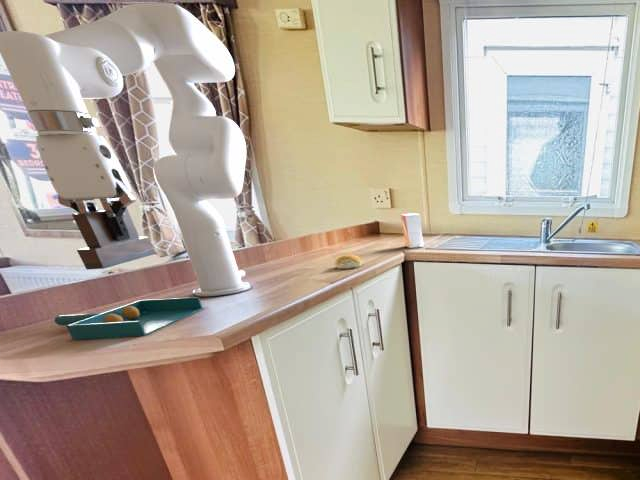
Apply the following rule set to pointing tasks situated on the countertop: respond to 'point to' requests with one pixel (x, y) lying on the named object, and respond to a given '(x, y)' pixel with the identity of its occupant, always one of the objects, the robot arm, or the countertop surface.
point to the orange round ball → (130, 312)
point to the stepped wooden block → (109, 241)
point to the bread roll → (348, 261)
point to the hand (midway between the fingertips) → (114, 239)
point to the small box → (412, 230)
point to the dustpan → (148, 321)
